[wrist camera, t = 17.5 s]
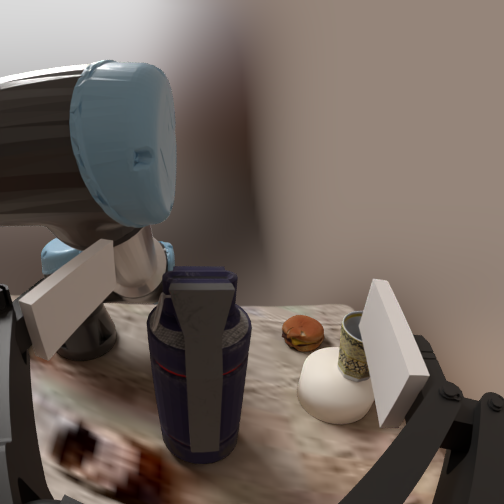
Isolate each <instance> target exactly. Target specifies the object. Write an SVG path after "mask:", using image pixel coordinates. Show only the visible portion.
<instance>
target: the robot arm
mask: <svg viewBox="0 0 504 504" xmlns="http://www.w3.org/2000/svg"><path fill="white" fill-rule="evenodd" d="M175 185H176V137H175V112H174V103H173V96H172V91H171V87H170V83H169V81H168V79H167V77H166V75H165V74H164V72H163V71H162V70H161V69H159V68H157V67H155V66H154V65H150V64H148V63H133V62H132V63H131V62H116V61H113V60H102V61H99V62H95V63H92V64H84V65H74V66H65V67H57V68H50V69H45V70H38V71H32V72H26V73H21V74H15V75H11V76H6V77H2V78H0V226H2V227H4V226H44V227H47V228H48V229H49V230H50V231H51V232H52V233H53V234H54V235H55V236H56V237H57V238H56V239H54V240H52V241H51V242H49V243H48V244H47V245H46V246H45V247H44V249H43V250H42V254H41V259H42V267H43V268H42V272H43V274H44V278H43V279H41V280H40V281H38V282H37V283H36V284H35V285H34V286H32V287H31V288H30V289H29V290H27V291H26V292H24V293H23V294H22V295H20V296H19V297H18V298H17V299H15V300H14V301H13V302H12V300H11V296H10V292H9V289H8V286H7V285H4V284H0V504H83V503H81V502H79V501H77V500H75V499H73V498H70V497H68V496H66V495H64V497H63V498H62V500H61V501H60V500H54V498H53V496H52V495H51V493H50V491H49V489H48V487H47V484H46V480H45V475H44V471H43V466H42V461H41V456H40V451H39V445H38V439H37V433H36V426H35V419H34V410H33V401H32V390H31V376H30V356H29V352H28V350H27V349H28V348H29V347H30V346H31V345H32V346H33V349H34V352H35V354H36V355H37V356H39V357H41V358H44V359H46V360H48V361H49V359H50V358H51V357H52V356H53V355H54V354H55V353H56V351H57V352H58V353H59V354H60V355H61V356H63V357H65V358H68V359H71V360H90V359H94V358H97V357H99V356H101V355H103V354H105V353H106V352H107V351H109V350H110V349H111V348H112V346H113V345H114V343H115V341H116V330H115V325H114V322H113V321H112V319H111V317H110V315H109V314H108V312H107V310H106V308H105V306H104V304H103V303H149V304H158V301H159V298H160V295H161V293H162V292H163V286H162V276H163V274H164V273H165V272H168V271H172V270H173V266H175V262H174V261H175V260H174V251H173V246H172V245H171V244H170V243H164V242H162V241H160V242H158V241H157V240H156V239H155V238H154V237H153V236H152V230H151V224H158V223H161V222H163V221H164V220H166V219H167V218H168V216H169V215H170V211H171V209H172V207H173V202H174V196H175ZM359 329H360V333H361V337H362V342H363V346H364V350H365V355H366V359H367V364H368V369H369V373H370V378H371V383H372V388H373V393H374V398H375V403H376V409H377V414H378V420H379V425H380V428H399V426H400V425H401V423H402V422H403V420H404V419H405V420H406V425H405V427H404V428H403V429H402V431H401V432H400V433H399V435H398V436H397V437H396V439H395V440H394V441H393V442H392V444H391V445H390V446H389V447H388V449H387V450H386V451H385V452H384V454H383V455H382V456H381V457H380V458H379V460H378V461H377V462H376V463H375V464H374V466H373V467H372V468H371V469H370V470H369V471H368V472H367V474H366V475H365V476H364V477H363V478H362V479H361V480H360V481H359V482H358V484H357V485H356V486H355V487H354V488H353V489H352V490H351V491H350V492H349V493H348V494H347V495H346V496H345V497H344V498H343V499H342V500H341V501H340V502H339V503H338V504H403V503H404V502H405V500H406V499H407V497H408V496H409V494H410V493H411V492H412V490H413V489H414V487H415V486H416V484H417V483H418V481H419V480H420V478H421V477H422V475H423V474H424V472H425V470H426V469H427V467H428V466H429V464H430V462H431V461H432V459H433V457H434V456H435V454H436V452H437V450H438V449H439V448H444V449H446V454H445V458H444V463H443V467H442V471H441V475H440V478H439V482H438V486H437V489H436V493H435V496H434V499H433V503H432V504H504V398H503V397H502V396H500V395H498V394H496V393H492V392H488V393H485V394H484V395H483V396H482V398H481V399H480V400H479V401H476V400H472V399H468V398H464V397H463V394H462V391H461V390H460V389H459V387H457V386H456V385H455V384H453V383H451V382H448V381H446V379H445V376H444V374H443V372H442V370H441V367H440V365H439V363H438V361H437V360H436V356H435V354H434V353H433V350H432V348H431V346H430V343H429V342H428V341H427V340H425V338H424V337H423V336H422V335H421V336H420V335H413V334H412V332H411V330H410V327H409V325H408V323H407V321H406V319H405V317H404V314H403V312H402V310H401V308H400V306H399V304H398V301H397V299H396V297H395V295H394V293H393V291H392V289H391V287H390V285H389V283H388V281H386V280H379V279H373V281H372V284H371V288H370V291H369V294H368V298H367V301H366V304H365V308H364V311H363V314H362V317H361V320H360V324H359Z"/></svg>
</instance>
